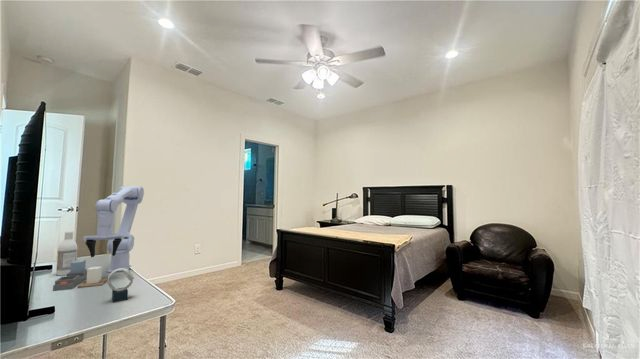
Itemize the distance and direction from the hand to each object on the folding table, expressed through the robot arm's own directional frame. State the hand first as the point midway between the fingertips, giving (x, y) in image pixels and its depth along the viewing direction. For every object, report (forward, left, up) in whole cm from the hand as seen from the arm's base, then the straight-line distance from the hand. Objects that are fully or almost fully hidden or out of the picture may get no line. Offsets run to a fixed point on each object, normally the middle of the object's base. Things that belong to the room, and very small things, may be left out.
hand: (103, 256), depth 120 cm
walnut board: (+5, -1, -10) cm, 12 cm away
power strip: (-2, -10, -10) cm, 15 cm away
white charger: (+5, -1, -10) cm, 11 cm away
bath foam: (-16, -18, -11) cm, 26 cm away
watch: (+29, +13, -11) cm, 33 cm away
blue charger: (-4, -10, -8) cm, 14 cm away
